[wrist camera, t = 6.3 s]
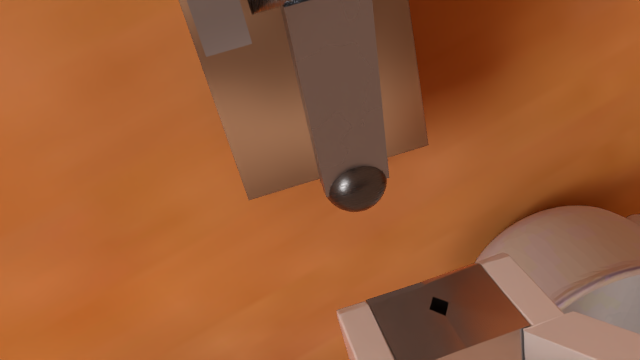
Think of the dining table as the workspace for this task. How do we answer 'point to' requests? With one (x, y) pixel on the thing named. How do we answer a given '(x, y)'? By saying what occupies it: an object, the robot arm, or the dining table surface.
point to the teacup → (580, 260)
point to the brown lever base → (292, 88)
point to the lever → (339, 94)
